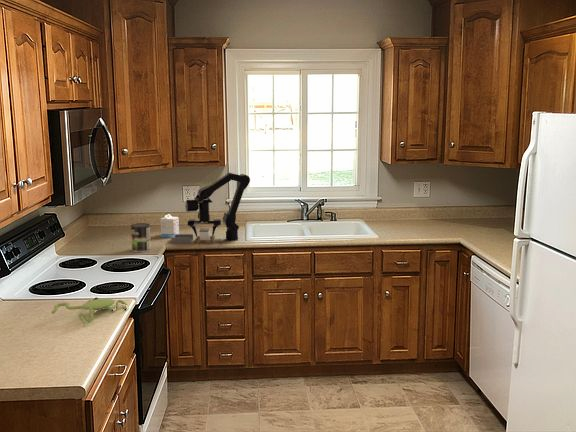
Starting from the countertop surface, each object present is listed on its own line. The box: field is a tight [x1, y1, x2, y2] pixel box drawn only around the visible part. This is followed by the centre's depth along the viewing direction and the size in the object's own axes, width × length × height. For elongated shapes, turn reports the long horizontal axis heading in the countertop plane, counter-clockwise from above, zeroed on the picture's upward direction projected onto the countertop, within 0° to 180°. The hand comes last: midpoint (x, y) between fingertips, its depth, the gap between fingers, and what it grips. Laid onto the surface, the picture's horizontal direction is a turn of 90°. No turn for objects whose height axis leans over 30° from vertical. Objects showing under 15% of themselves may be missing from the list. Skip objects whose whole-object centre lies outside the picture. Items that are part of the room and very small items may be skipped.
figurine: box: [51, 297, 128, 324], centre depth 238 cm, size 18×27×6 cm
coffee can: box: [130, 222, 152, 253], centre depth 337 cm, size 10×10×14 cm
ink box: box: [160, 213, 180, 239], centre depth 370 cm, size 9×8×13 cm
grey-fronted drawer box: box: [198, 227, 211, 240], centre depth 357 cm, size 5×7×7 cm
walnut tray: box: [194, 235, 216, 244], centre depth 357 cm, size 10×12×2 cm
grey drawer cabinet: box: [170, 233, 194, 244], centre depth 357 cm, size 11×11×4 cm
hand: (204, 236), depth 357 cm, fingers open, 9 cm apart
